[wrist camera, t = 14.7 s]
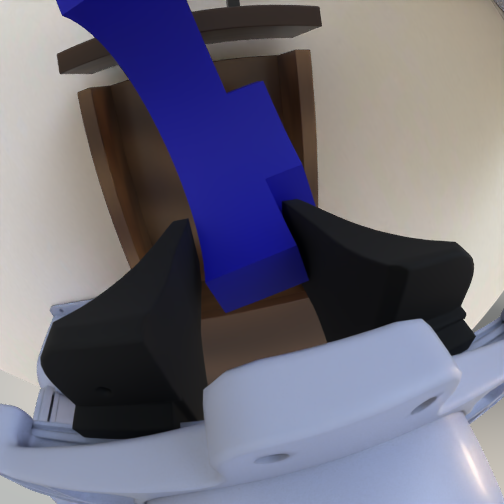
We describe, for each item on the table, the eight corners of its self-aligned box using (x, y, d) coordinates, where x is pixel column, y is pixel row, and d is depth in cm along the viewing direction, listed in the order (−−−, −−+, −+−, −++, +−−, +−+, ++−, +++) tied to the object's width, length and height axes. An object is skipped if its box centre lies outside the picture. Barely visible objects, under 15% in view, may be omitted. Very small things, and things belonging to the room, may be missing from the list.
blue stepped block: (299, 194, 14) (349, 262, 9) (217, 229, 15) (225, 313, 10) (206, -26, 8) (209, -93, 3) (111, 17, 8) (49, -19, 3)
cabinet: (143, 271, 23) (132, 330, 18) (308, 240, 24) (340, 290, 19) (198, 388, 34) (202, 433, 29) (305, 367, 35) (320, 409, 30)
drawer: (83, 5, 10) (52, -11, 6) (283, -30, 11) (308, -56, 7) (153, 288, 23) (148, 331, 19) (305, 259, 24) (326, 297, 20)
